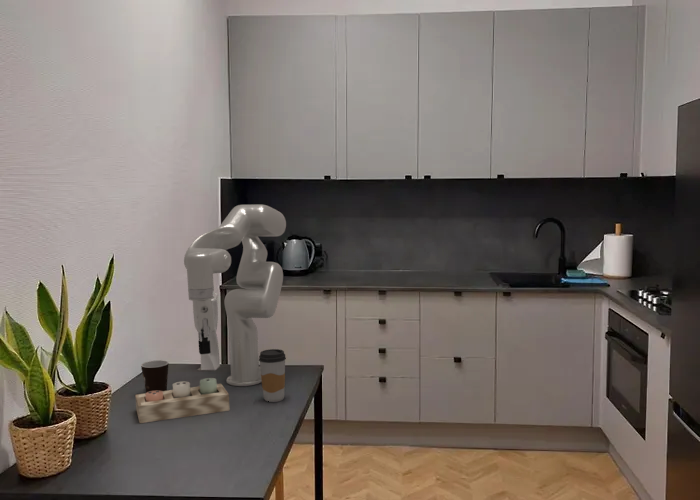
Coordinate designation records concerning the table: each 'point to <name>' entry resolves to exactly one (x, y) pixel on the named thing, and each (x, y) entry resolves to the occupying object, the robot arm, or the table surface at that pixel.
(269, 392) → the coffee cup
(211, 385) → the button sage
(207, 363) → the skyscraper
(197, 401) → the beige long block
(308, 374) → the table surface
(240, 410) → the table surface
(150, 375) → the coffee mug
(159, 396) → the pink rounded cylinder
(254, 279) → the robot arm
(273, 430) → the table surface
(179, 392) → the button cream
